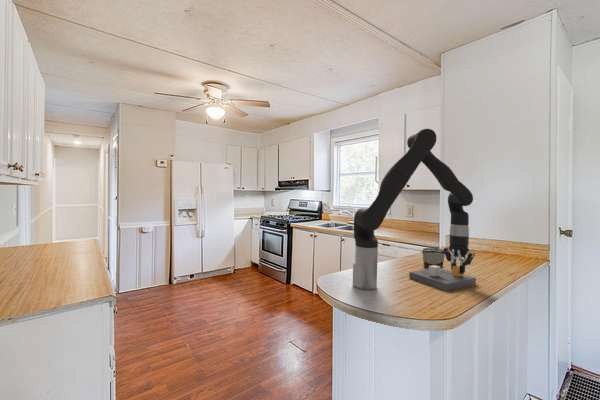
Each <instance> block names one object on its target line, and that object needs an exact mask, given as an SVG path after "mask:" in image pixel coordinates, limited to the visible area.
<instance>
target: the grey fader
mask: <svg viewBox="0 0 600 400" xmlns="http://www.w3.org/2000/svg"><path fill="white" fill-rule="evenodd" d="M428 269H429V275H431V276H434V277H435V276H440V273H441V267H440V266H436V265H432V266H429V268H428Z"/></svg>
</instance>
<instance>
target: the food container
mask: <svg viewBox="0 0 600 400" xmlns="http://www.w3.org/2000/svg"><path fill="white" fill-rule="evenodd" d="M421 254H422V259H423V261H422V262H423V269H429V266H432V265H436V266H440V267H441V269H444V268H443V267H444V260H445V256H446V255H445V253H444V250H443V249H441V248H435V247H434V248H433V247H424V248H422V250H421Z"/></svg>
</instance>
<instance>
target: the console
mask: <svg viewBox="0 0 600 400" xmlns="http://www.w3.org/2000/svg"><path fill="white" fill-rule="evenodd" d="M408 276H409V279H411V280H413V281H417V282H420V283H422V284H426V285H428V286H430V287H434V288H437V289H440V290H443V291H445V292H449V291H454V290H458V289H462V288H466V287H471V286H475V285H476V283H477V277H474V276H470V275H466V274H464V276H459V277H458V276H454V275H452V270H449V269H445V268H443V269H441V273H440V276H435V277H434V276H431V275H429V268H423V269H417V270H413V271H412V270H411V271H409V275H408Z"/></svg>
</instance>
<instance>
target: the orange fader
mask: <svg viewBox="0 0 600 400" xmlns="http://www.w3.org/2000/svg"><path fill="white" fill-rule="evenodd" d="M451 271H452V275H454V276H458V277H459V276H464V275H465V273H464V274H460V264H456V266H452V270H451Z"/></svg>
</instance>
